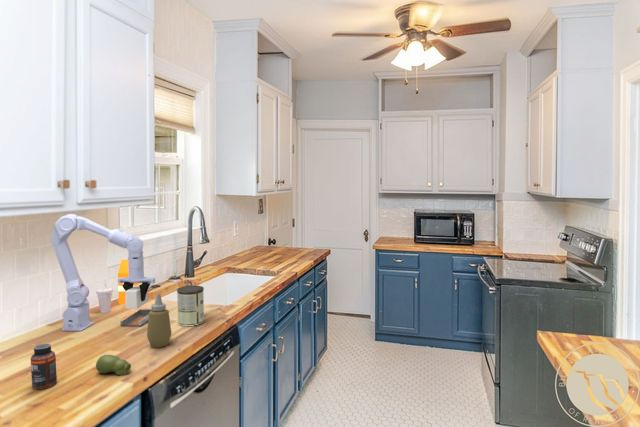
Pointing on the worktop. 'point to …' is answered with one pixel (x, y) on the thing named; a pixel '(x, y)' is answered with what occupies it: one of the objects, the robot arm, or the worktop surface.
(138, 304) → the white rectangular block
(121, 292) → the orange juice
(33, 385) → the supplement bottle
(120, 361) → the green lumpy rounded piece
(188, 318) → the coffee can
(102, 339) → the worktop surface
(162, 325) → the squeeze bottle
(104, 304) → the smoothie
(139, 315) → the dark grey tray
